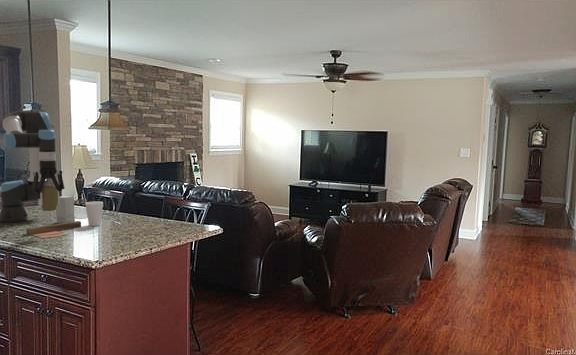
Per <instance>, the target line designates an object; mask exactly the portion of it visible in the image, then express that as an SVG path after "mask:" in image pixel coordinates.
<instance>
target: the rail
mask: <svg viewBox="0 0 576 355" xmlns="http://www.w3.org/2000/svg"><path fill="white" fill-rule="evenodd" d="M81 227H82V222H81V221H80V220H75V222H68V223H56V224H50V225H42V226H36V227H29V228H26V235H27V234H28V236H33V237H37V238H38V239H39V238H40V239H42V238H43V240H47V239H51V238H58V237H62V236H67V235H68V234H67V233H64V232H60V231H64V230H71V229H77V228H81ZM46 238H47V239H46Z"/></svg>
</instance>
